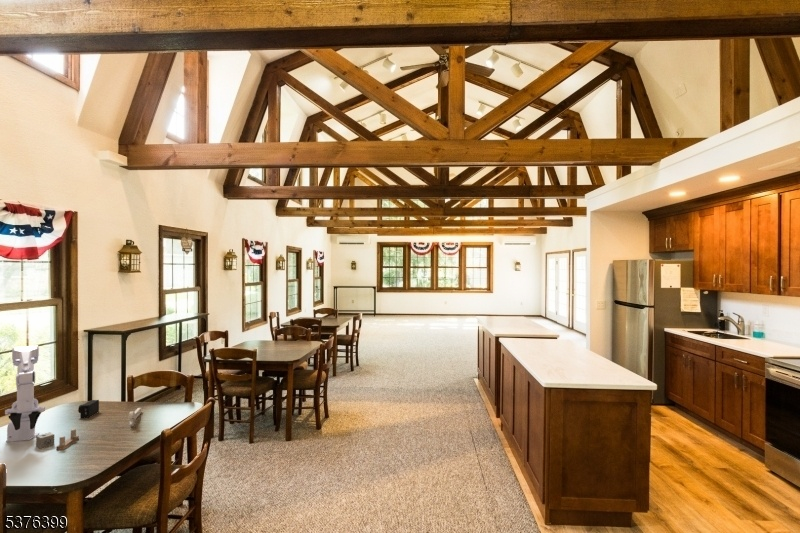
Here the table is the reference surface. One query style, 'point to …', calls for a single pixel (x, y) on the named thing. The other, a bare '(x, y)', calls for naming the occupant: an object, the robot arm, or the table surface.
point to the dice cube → (44, 440)
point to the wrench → (134, 416)
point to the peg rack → (69, 441)
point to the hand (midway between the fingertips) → (25, 428)
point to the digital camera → (89, 409)
